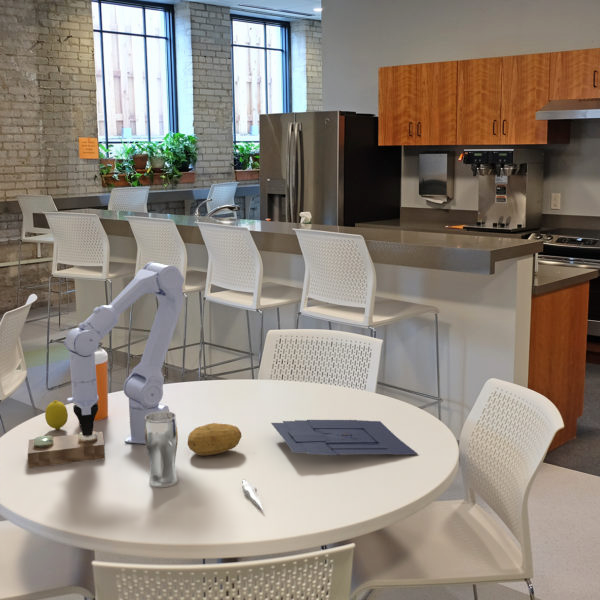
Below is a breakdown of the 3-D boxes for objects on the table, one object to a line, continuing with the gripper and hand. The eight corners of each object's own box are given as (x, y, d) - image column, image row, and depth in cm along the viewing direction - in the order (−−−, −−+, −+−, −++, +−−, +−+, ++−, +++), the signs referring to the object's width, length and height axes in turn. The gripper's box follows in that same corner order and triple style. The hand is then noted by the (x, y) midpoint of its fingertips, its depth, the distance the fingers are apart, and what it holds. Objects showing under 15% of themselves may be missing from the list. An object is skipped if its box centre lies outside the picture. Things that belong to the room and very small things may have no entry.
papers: (267, 430, 203) (269, 416, 203) (378, 430, 212) (380, 417, 212) (294, 467, 180) (296, 451, 180) (417, 465, 189) (419, 450, 189)
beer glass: (165, 491, 172) (161, 423, 169) (140, 484, 175) (136, 418, 172) (186, 479, 178) (183, 414, 175) (162, 472, 181) (158, 408, 178)
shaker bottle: (118, 414, 220) (114, 343, 216) (94, 424, 213) (89, 350, 209) (95, 409, 225) (90, 339, 221) (70, 418, 218) (65, 346, 214)
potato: (189, 446, 197) (188, 419, 195) (242, 444, 197) (241, 417, 196) (186, 461, 188) (185, 432, 186) (241, 459, 188) (240, 431, 187)
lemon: (55, 435, 206) (52, 405, 204) (42, 430, 209) (39, 401, 207) (73, 429, 210) (71, 399, 208) (60, 424, 213) (57, 395, 212)
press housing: (103, 445, 198) (102, 431, 198) (105, 458, 190) (104, 444, 189) (30, 453, 194) (28, 439, 193) (28, 467, 185) (27, 453, 185)
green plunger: (54, 452, 193) (53, 434, 192) (54, 459, 189) (53, 441, 188) (35, 454, 192) (34, 436, 191) (35, 461, 188) (33, 443, 187)
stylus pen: (237, 486, 174) (237, 478, 174) (249, 484, 175) (249, 476, 175) (256, 516, 160) (256, 507, 160) (269, 514, 161) (269, 505, 161)
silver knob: (98, 447, 196) (96, 429, 195) (98, 454, 192) (97, 436, 191) (79, 449, 195) (77, 432, 194) (79, 456, 190) (78, 438, 189)
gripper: (65, 372, 195) (69, 426, 198) (66, 389, 182) (70, 447, 184) (95, 370, 197) (99, 423, 200) (98, 386, 184) (102, 443, 186)
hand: (87, 434), depth 192 cm, fingers closed, pressing on silver knob
